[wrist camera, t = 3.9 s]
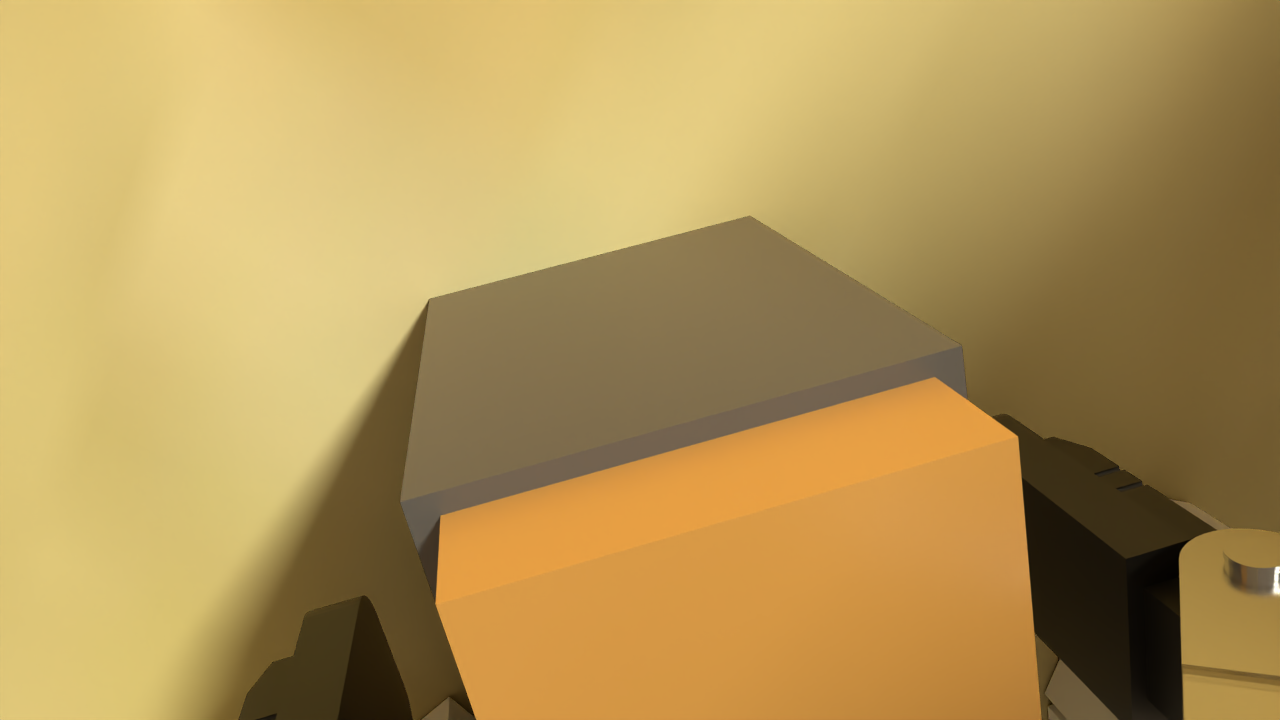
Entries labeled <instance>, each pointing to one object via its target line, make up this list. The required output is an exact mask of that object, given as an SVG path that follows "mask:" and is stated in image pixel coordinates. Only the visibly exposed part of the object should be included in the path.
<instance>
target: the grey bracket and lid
mask: <svg viewBox="0 0 1280 720" xmlns="http://www.w3.org/2000/svg"><path fill="white" fill-rule="evenodd" d="M1170 500H1171V499H1170ZM1172 501H1173V502H1175V503H1176V504H1178V505H1180V506H1181V507H1183V508H1184V509H1186V510H1187V511H1189V512H1190V513H1192V514H1193V515H1195V516H1196V517H1198V518H1200V519H1201V520H1203V521H1204V522H1206V523H1207V524H1209V525H1210V526H1212V527H1213V528H1215V529H1217V530H1223V529H1231V528H1229V527H1228V526H1226V525H1225V524H1223V523H1222V522H1220V521H1218V520H1217V519H1215V518H1214V517H1212V516H1211V515H1209V514H1207V513H1206V512H1204V511H1203V510H1201V509H1200V508H1198V507H1196V506H1195V505H1193V504H1192V503H1188V502H1182V501H1177V500H1172ZM1045 695H1046V696H1047V697H1048V698H1049V700H1050V701H1051V702H1052V703H1053V705H1050V706H1048V716H1049V720H1118V719H1117V718H1116V716H1115V715H1114V714H1113V713H1112V712H1111V711H1110V710H1109V709H1108V708H1107V707H1106V706H1105V705H1104V704H1103V703H1102V702H1101V701H1100V700H1099V699H1098V698H1097V697H1096V696H1095V695H1094V694H1093V693H1092V692H1091V691H1090V690H1089V688H1088V687H1087V686H1086V685H1085V684H1084V683H1083V682H1082V681H1081V680H1080V679H1079V678H1078V677H1077V676H1076V675H1075V674H1074V673H1073V672H1072V671H1071V670H1070V669H1069V668H1068V667H1067V666H1066V665H1065V664H1064V663H1063V661H1062V660H1061V659H1059V662H1058V664H1057V666H1056V669H1055V671H1054V673H1053V676H1052V678H1051V680H1050V682H1049V685H1048V687H1047V689H1046V692H1045ZM422 720H476V718H475V717H474V716H472V715H471V714H470V713H469V712H467V711H466V710H465V709H464V708H463V707H461V706H460V705H459V704H458V703H456V702H455V701H454V700H453V699H451V698H450V697H448V698H447V699H446V700H444V701H443V702H442V703H441V704H440V705H438V706H437V707H436V708H435V709H434V710H432V711H431V712H430V713H429V714H428V715H426V716H425V717H424V718H423V719H422Z"/></svg>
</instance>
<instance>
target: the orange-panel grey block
mask: <svg viewBox="0 0 1280 720" xmlns="http://www.w3.org/2000/svg"><path fill="white" fill-rule="evenodd" d="M400 504H401V506H402V509H403V512H404V515H405V518H406V521H407V523H408V526H409V529H410V532H411V535H412V538H413V540H414V543H415V546H416V549H417V552H418V555H419V557H420V560H421V563H422V566H423V569H424V571H425V574H426V577H427V580H428V583H429V586H430V588H431V591H432V594H433V597H434V600H435V603H436V607H437V610H438V613H439V616H440V619H441V621H442V624H443V627H444V630H445V633H446V636H447V638H448V641H449V644H450V647H451V650H452V653H453V655H454V658H455V661H456V664H457V667H458V669H459V672H460V675H461V678H462V681H463V684H464V686H465V689H466V692H467V695H468V698H469V701H470V703H471V706H472V709H473V712H474V715H475V718H476V720H1042V719H1041V706H1040V694H1039V682H1038V670H1037V658H1036V646H1035V634H1034V622H1033V610H1032V598H1031V586H1030V574H1029V561H1028V549H1027V537H1026V525H1025V513H1024V501H1023V489H1022V477H1021V465H1020V453H1019V441H1018V436H1017V435H1015V434H1014V433H1013V432H1011V431H1010V430H1008V429H1007V428H1006V427H1004V426H1003V425H1001V424H1000V423H999V422H997V421H996V420H994V419H993V418H992V417H990V416H989V415H987V414H986V413H985V412H983V411H982V410H980V409H979V408H978V407H976V406H975V405H973V404H972V403H971V402H969V401H968V399H967V389H966V380H965V370H964V360H963V350H962V345H960V344H958V343H957V342H955V341H954V340H952V339H950V338H949V337H947V336H945V335H944V334H942V333H940V332H939V331H937V330H936V329H934V328H932V327H931V326H929V325H927V324H926V323H924V322H923V321H921V320H919V319H918V318H916V317H914V316H913V315H911V314H909V313H908V312H906V311H905V310H903V309H901V308H900V307H898V306H896V305H895V304H893V303H892V302H890V301H888V300H887V299H885V298H883V297H882V296H880V295H878V294H877V293H875V292H874V291H872V290H870V289H869V288H867V287H865V286H864V285H862V284H861V283H859V282H857V281H856V280H854V279H852V278H851V277H849V276H847V275H846V274H844V273H843V272H841V271H839V270H838V269H836V268H834V267H833V266H831V265H830V264H828V263H826V262H825V261H823V260H821V259H820V258H818V257H816V256H815V255H813V254H812V253H810V252H808V251H807V250H805V249H803V248H802V247H800V246H799V245H797V244H795V243H794V242H792V241H790V240H789V239H787V238H785V237H784V236H782V235H781V234H779V233H777V232H776V231H774V230H772V229H771V228H769V227H768V226H766V225H764V224H763V223H761V222H759V221H758V220H756V219H754V218H753V217H751V216H747V217H743V218H739V219H736V220H732V221H728V222H724V223H720V224H716V225H712V226H709V227H705V228H701V229H697V230H693V231H689V232H685V233H682V234H678V235H674V236H670V237H666V238H662V239H658V240H655V241H651V242H647V243H643V244H639V245H635V246H631V247H628V248H624V249H620V250H616V251H612V252H608V253H604V254H601V255H597V256H593V257H589V258H585V259H581V260H577V261H574V262H570V263H566V264H562V265H558V266H554V267H550V268H547V269H543V270H539V271H535V272H531V273H527V274H523V275H520V276H516V277H512V278H508V279H504V280H500V281H496V282H493V283H489V284H485V285H481V286H477V287H473V288H469V289H466V290H462V291H458V292H454V293H450V294H446V295H442V296H439V297H435V298H431V299H429V306H428V313H427V320H426V327H425V334H424V340H423V347H422V354H421V361H420V368H419V375H418V381H417V388H416V395H415V402H414V409H413V416H412V423H411V429H410V436H409V443H408V450H407V457H406V464H405V471H404V477H403V484H402V491H401V498H400Z"/></svg>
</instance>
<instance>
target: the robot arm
mask: <svg viewBox="0 0 1280 720" xmlns="http://www.w3.org/2000/svg"><path fill="white" fill-rule="evenodd" d="M992 418H993V419H994V420H996V421H997V422H999V423H1000V424H1001V425H1003V426H1004V427H1006V428H1007V429H1008V430H1010V431H1011V432H1013V433H1014V434H1015V435H1017V436H1018V441H1019V453H1020V465H1021V477H1022V489H1023V501H1024V513H1025V525H1026V537H1027V549H1028V561H1029V574H1030V586H1031V598H1032V610H1033V622H1034V632H1035V633H1036V635H1037V636H1038V637H1039V638H1040V639H1041V640H1042V641H1043V642H1044V643H1045V644H1046V645H1047V646H1048V647H1049V648H1050V649H1051V650H1052V651H1053V652H1054V653H1055V654H1056V655H1057V656H1058V657H1059V658H1060V659H1061V660H1062V661H1063V663H1064V664H1065V665H1066V666H1067V667H1068V668H1069V669H1070V670H1071V671H1072V672H1073V673H1074V674H1075V675H1076V676H1077V677H1078V678H1079V679H1080V680H1081V681H1082V682H1083V683H1084V684H1085V685H1086V686H1087V687H1088V688H1089V690H1090V691H1091V692H1092V693H1093V694H1094V695H1095V696H1096V697H1097V698H1098V699H1099V700H1100V701H1101V702H1102V703H1103V704H1104V705H1105V706H1106V707H1107V708H1108V709H1109V710H1110V711H1111V712H1112V713H1113V714H1114V715H1115V716H1116V718H1117V719H1118V720H1280V533H1278V532H1273V531H1267V530H1260V529H1247V528H1235V529H1223V530H1217V529H1215V528H1213V527H1212V526H1210V525H1209V524H1207V523H1206V522H1204V521H1203V520H1201V519H1200V518H1198V517H1196V516H1195V515H1193V514H1192V513H1190V512H1189V511H1187V510H1186V509H1184V508H1183V507H1181V506H1180V505H1178V504H1176V503H1175V502H1173V501H1172V500H1170V499H1169V498H1167V497H1166V496H1164V495H1163V494H1161V493H1160V492H1158V491H1156V490H1155V489H1153V488H1152V487H1150V486H1149V485H1145V486H1144V485H1143V484H1142V481H1141V480H1139V479H1138V478H1136V477H1135V476H1133V475H1132V474H1130V473H1129V472H1127V471H1126V470H1120V469H1119V466H1118V465H1116V464H1115V463H1113V462H1112V461H1110V460H1109V459H1107V458H1106V457H1104V456H1103V455H1101V454H1099V453H1098V452H1096V451H1095V450H1093V449H1092V448H1089V447H1086V446H1082V445H1079V444H1076V443H1072V442H1069V441H1066V440H1062V439H1059V438H1056V437H1051V438H1047V439H1043V438H1041V437H1040V436H1038V435H1037V434H1036V433H1034V432H1033V431H1031V430H1030V429H1028V428H1027V427H1025V426H1024V425H1022V424H1021V423H1020V422H1018V421H1017V420H1015V419H1014V418H1012V417H1011V416H1009V415H1006V414H1000V415H997V416H994V417H992ZM239 720H413V719H412V713H411V708H410V704H409V700H408V696H407V693H406V690H405V687H404V684H403V682H402V679H401V676H400V674H399V671H398V669H397V666H396V663H395V661H394V658H393V655H392V653H391V650H390V648H389V645H388V642H387V640H386V637H385V635H384V632H383V629H382V627H381V624H380V621H379V619H378V616H377V614H376V611H375V609H374V607H373V605H372V603H371V601H370V600H369V599H368V597H366V596H361V597H357V598H354V599H350V600H347V601H343V602H340V603H336V604H333V605H329V606H326V607H322V608H319V609H315V610H312V611H309V612H307V613H306V615H305V617H304V620H303V624H302V627H301V631H300V634H299V638H298V642H297V645H296V649H295V652H294V656H292V657H289V658H285V659H282V660H278V661H275V662H272V664H271V665H270V666H269V667H268V669H267V670H266V671H265V672H264V674H263V675H262V676H261V677H260V679H259V680H258V681H257V682H256V684H255V685H254V686H253V687H252V688H251V690H250V691H249V692H248V693H247V696H246V699H245V702H244V705H243V708H242V711H241V714H240V717H239Z"/></svg>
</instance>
